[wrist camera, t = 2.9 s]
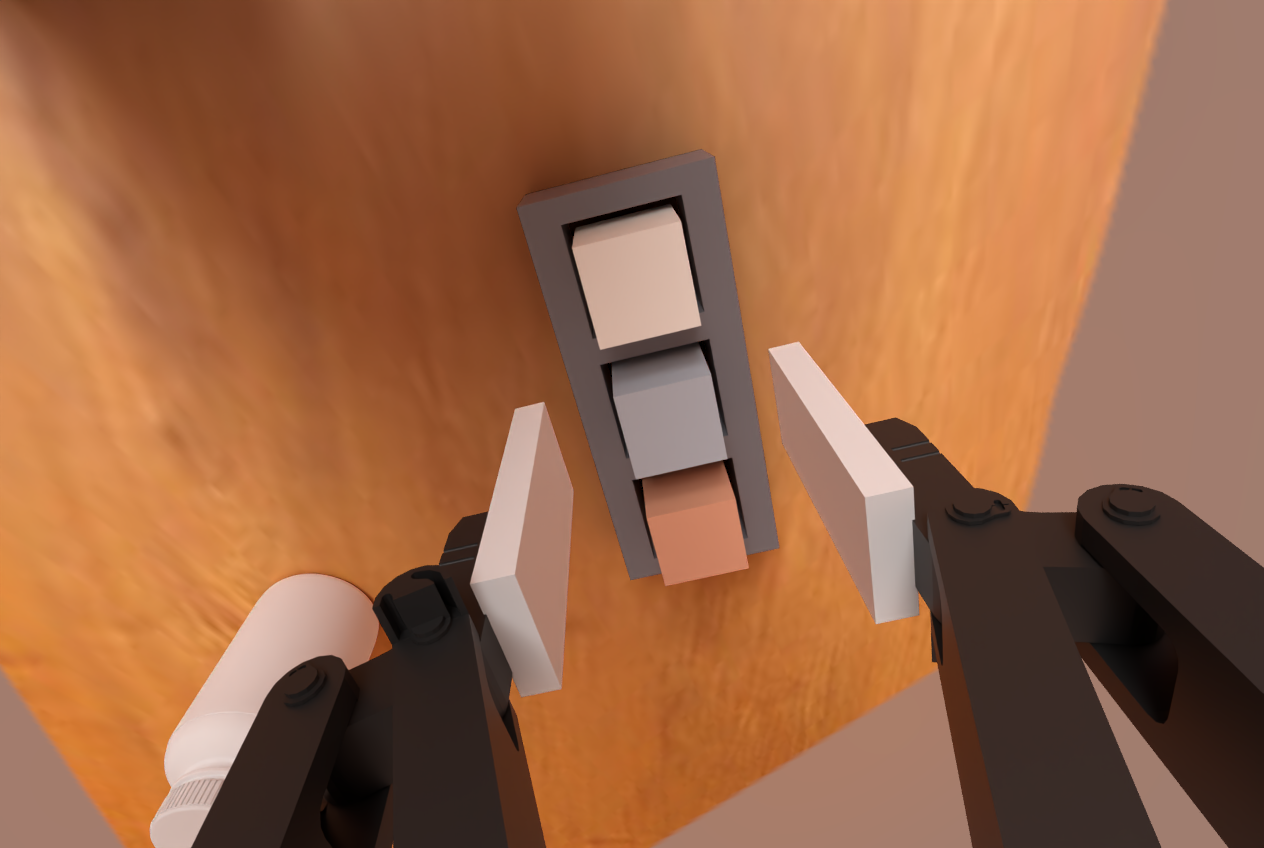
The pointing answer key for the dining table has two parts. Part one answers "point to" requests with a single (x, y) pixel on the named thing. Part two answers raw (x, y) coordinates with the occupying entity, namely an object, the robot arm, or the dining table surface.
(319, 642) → the pill bottle
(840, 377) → the dining table surface
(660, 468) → the slate key
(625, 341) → the ivory key
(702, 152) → the grey slotted block holder
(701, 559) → the terracotta key
